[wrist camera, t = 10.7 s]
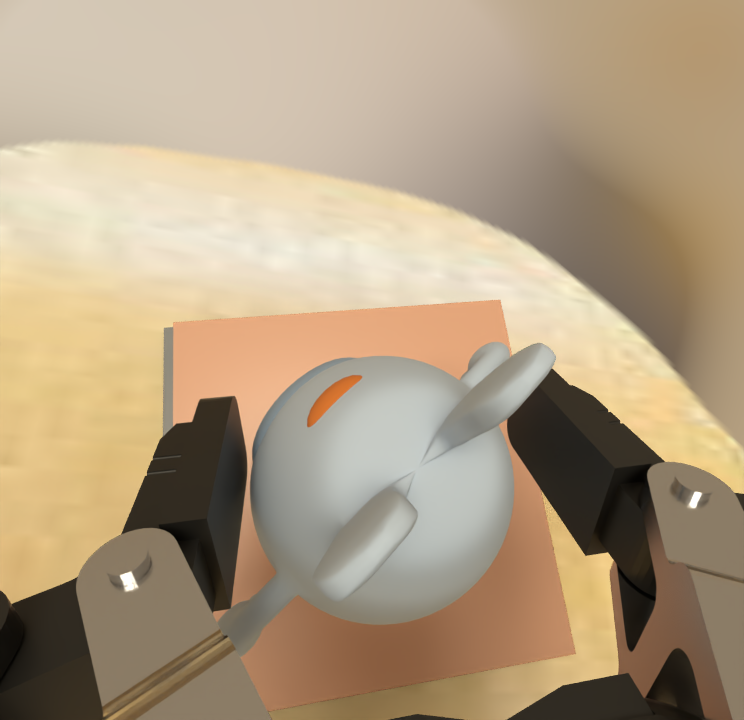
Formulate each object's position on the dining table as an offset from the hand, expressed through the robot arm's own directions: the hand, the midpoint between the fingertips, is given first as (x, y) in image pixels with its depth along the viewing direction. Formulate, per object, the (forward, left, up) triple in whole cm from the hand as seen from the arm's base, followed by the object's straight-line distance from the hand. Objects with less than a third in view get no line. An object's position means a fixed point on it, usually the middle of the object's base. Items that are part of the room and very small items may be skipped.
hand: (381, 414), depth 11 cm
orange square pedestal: (0, -1, -16) cm, 16 cm away
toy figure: (0, -2, -6) cm, 6 cm away
